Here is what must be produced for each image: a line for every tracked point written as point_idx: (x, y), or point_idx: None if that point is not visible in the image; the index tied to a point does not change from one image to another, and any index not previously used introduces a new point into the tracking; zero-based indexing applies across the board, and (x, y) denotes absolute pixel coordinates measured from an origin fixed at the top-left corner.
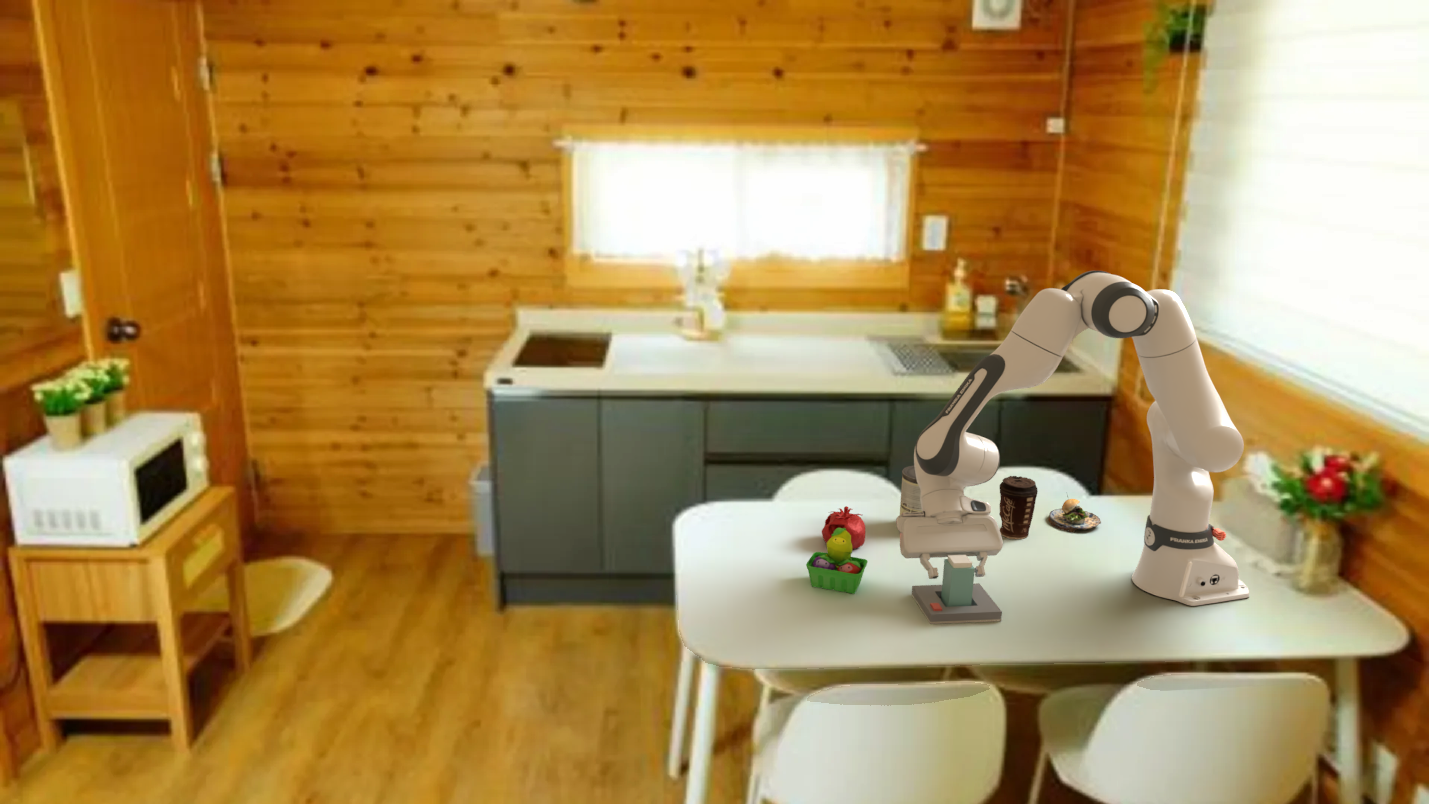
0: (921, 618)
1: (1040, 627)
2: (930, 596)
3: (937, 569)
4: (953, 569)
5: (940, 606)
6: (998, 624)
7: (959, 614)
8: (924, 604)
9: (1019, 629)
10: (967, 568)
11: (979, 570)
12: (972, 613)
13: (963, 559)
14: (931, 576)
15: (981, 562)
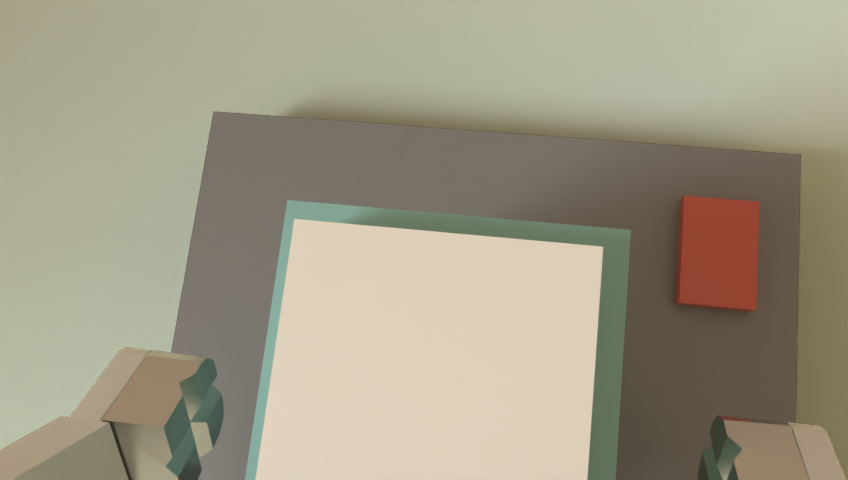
0: (807, 272)
1: (42, 26)
2: (686, 467)
3: (738, 476)
4: (609, 230)
5: (686, 233)
6: (281, 100)
7: (551, 139)
8: (797, 332)
9: (184, 21)
10: (391, 216)
11: (165, 379)
12: (444, 131)
13: (376, 361)
14: (813, 425)
15: (58, 471)
